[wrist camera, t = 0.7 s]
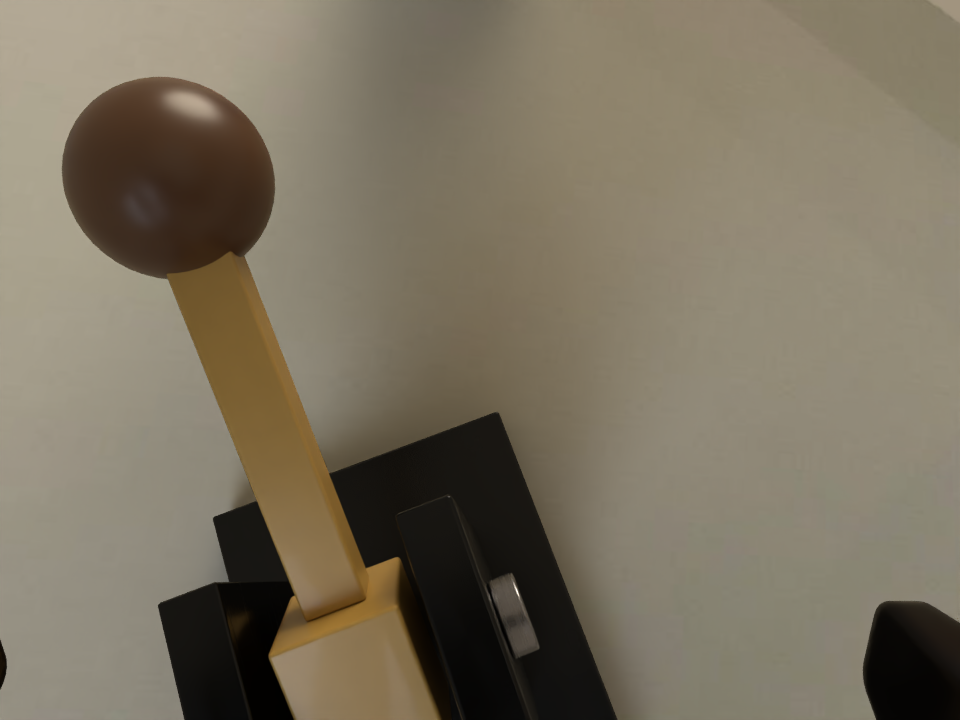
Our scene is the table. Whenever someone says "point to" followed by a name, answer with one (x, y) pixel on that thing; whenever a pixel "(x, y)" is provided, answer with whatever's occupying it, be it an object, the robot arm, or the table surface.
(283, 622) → the rod lever
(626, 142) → the table surface
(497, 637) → the rod bracket
